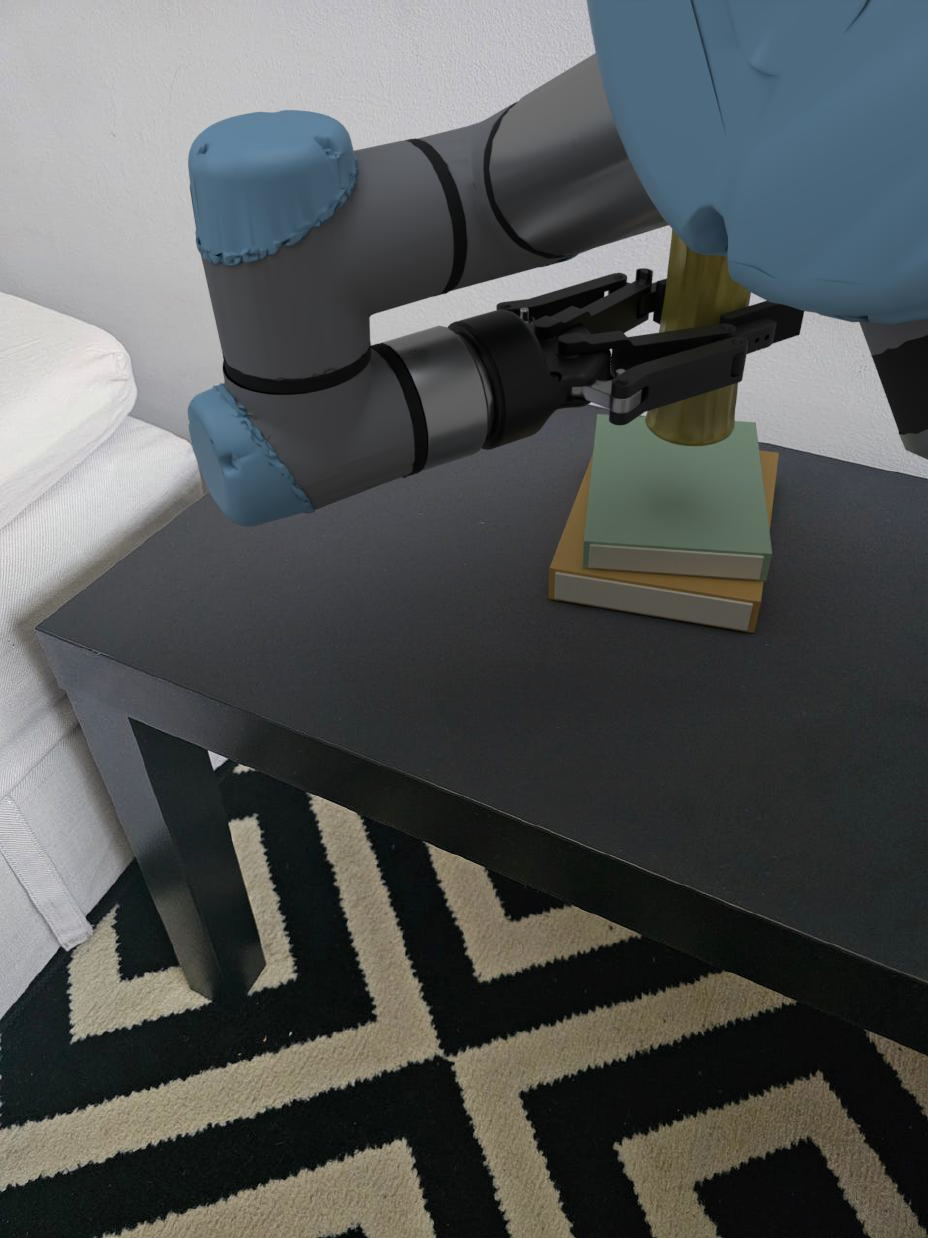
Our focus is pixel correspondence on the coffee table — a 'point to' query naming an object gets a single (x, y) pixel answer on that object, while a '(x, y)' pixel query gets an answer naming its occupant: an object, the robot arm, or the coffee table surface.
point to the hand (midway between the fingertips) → (764, 296)
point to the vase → (692, 302)
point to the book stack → (670, 527)
